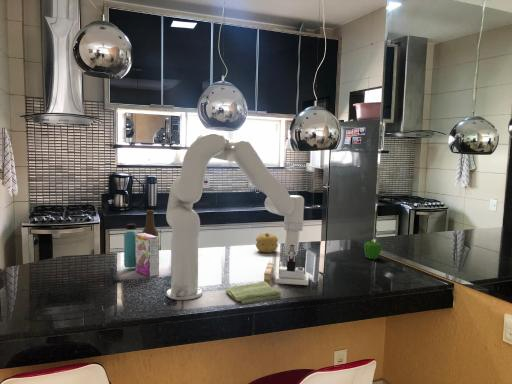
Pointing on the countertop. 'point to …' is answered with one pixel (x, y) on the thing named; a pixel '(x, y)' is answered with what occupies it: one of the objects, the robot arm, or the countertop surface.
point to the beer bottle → (150, 224)
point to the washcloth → (253, 292)
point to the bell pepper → (372, 250)
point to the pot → (266, 243)
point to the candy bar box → (147, 254)
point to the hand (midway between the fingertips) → (291, 267)
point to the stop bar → (291, 273)
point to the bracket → (292, 280)
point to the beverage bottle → (130, 247)
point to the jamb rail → (268, 273)
